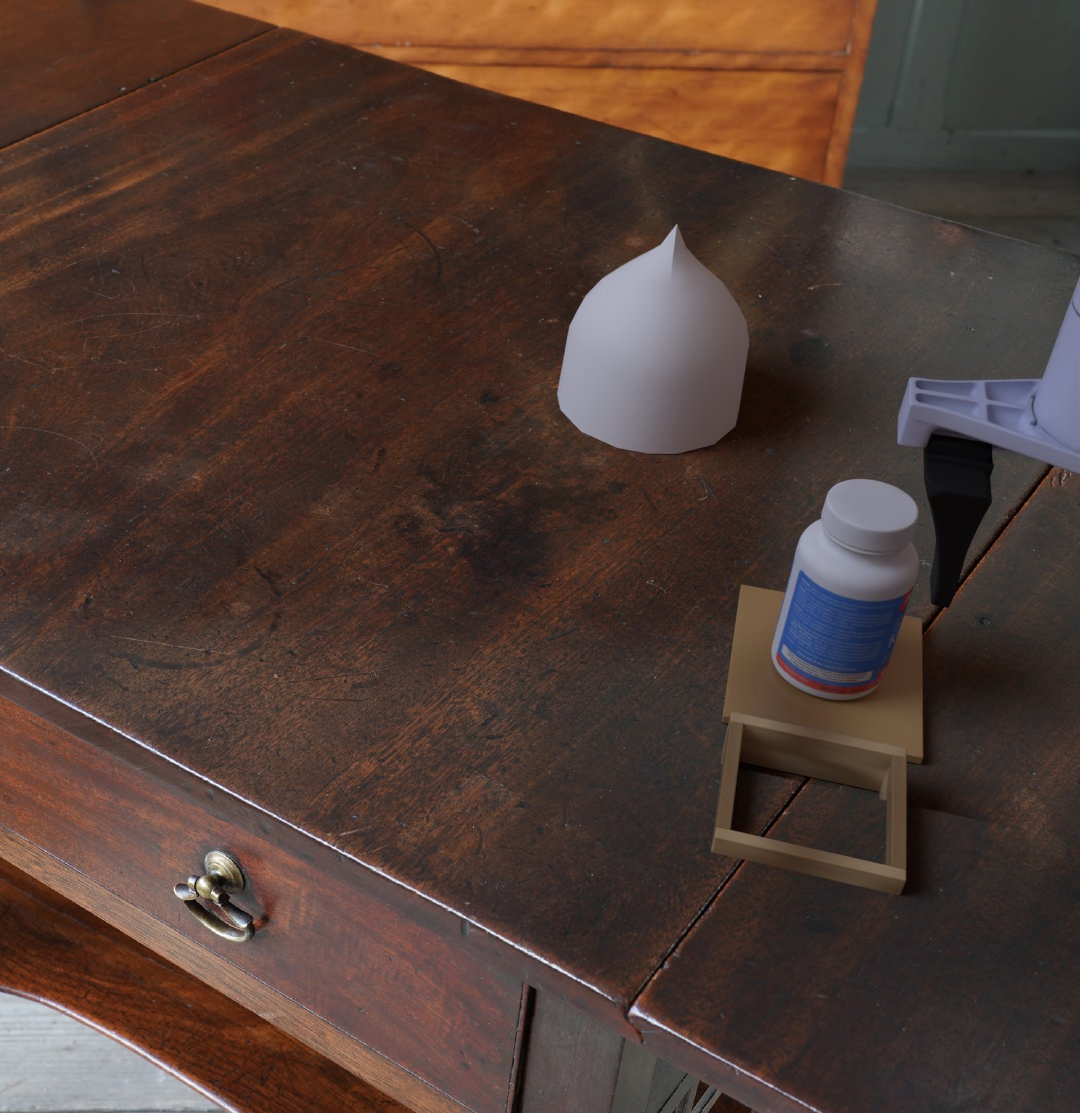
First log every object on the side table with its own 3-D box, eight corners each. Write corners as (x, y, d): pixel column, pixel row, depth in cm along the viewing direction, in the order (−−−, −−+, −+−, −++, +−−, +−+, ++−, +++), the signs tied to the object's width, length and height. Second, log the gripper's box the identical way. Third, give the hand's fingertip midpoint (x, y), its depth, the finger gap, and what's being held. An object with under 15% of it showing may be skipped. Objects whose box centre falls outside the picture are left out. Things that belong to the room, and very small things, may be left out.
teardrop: (647, 476, 84) (679, 290, 77) (520, 390, 91) (537, 212, 83) (777, 414, 89) (819, 234, 82) (647, 337, 96) (675, 165, 88)
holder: (893, 785, 66) (907, 747, 64) (891, 918, 60) (906, 880, 59) (722, 749, 68) (731, 710, 66) (704, 875, 62) (714, 836, 60)
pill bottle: (896, 705, 69) (953, 544, 63) (782, 703, 69) (827, 542, 63) (866, 628, 73) (916, 470, 67) (759, 626, 73) (799, 468, 67)
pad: (919, 625, 74) (922, 618, 74) (920, 765, 67) (923, 757, 67) (739, 591, 76) (741, 583, 76) (721, 722, 69) (723, 715, 69)
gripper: (1364, 293, 52) (1217, 583, 61) (939, 236, 55) (856, 519, 64) (1415, 396, 47) (1246, 697, 56) (942, 327, 50) (851, 621, 59)
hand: (1038, 609), depth 60 cm, fingers open, 7 cm apart
